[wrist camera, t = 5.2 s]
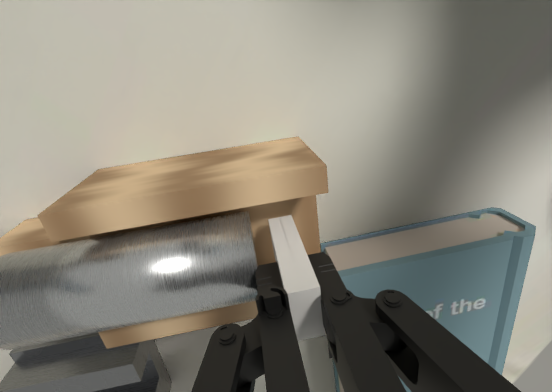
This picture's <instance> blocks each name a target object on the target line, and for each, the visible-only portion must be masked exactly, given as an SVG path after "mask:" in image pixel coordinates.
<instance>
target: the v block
mask: <svg viewBox="0 0 552 392" xmlns="http://www.w3.org/2000/svg"><path fill="white" fill-rule="evenodd" d="M9 354H10V356H11V357H12V359H13V360H14V361H15V364H14V365H13V366H12V368H11V369H10V370H9V372H8V373H7V375H6V376H5V377H4V379H3V380H2V381H1V383H0V392H170V388H171V383H172V382H171V380H170V377H169V375H168V373H167V370H166V368H165V365H164V363H163V361H162V358H161V356H160V354H159V351H158V349H157V346H156V344H155V342H154V339H152V340H147V341H142V342H137V343H133V344H128V345H123V346H118V347H113V348H108V349H107V348H106V346H105V344H104V343H103V341H102V339H101V337H100V335H99V333H98V332H97V333H92V334H87V335H82V336H77V337H72V338H67V339H61V340H56V341H51V342H46V343H41V344H36V345H31V346H26V347H21V348H16V349H13V350H12V351H11V352H10V353H9Z"/></svg>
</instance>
